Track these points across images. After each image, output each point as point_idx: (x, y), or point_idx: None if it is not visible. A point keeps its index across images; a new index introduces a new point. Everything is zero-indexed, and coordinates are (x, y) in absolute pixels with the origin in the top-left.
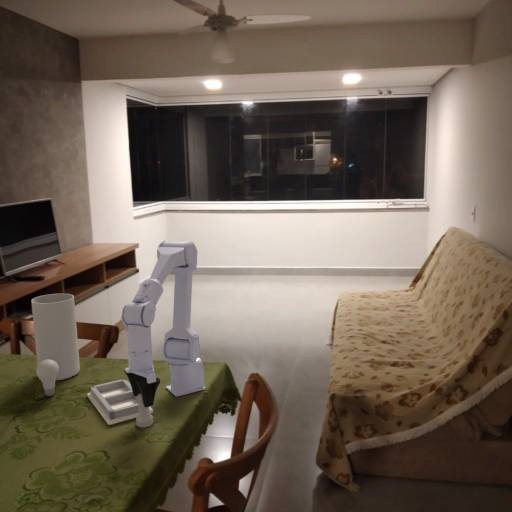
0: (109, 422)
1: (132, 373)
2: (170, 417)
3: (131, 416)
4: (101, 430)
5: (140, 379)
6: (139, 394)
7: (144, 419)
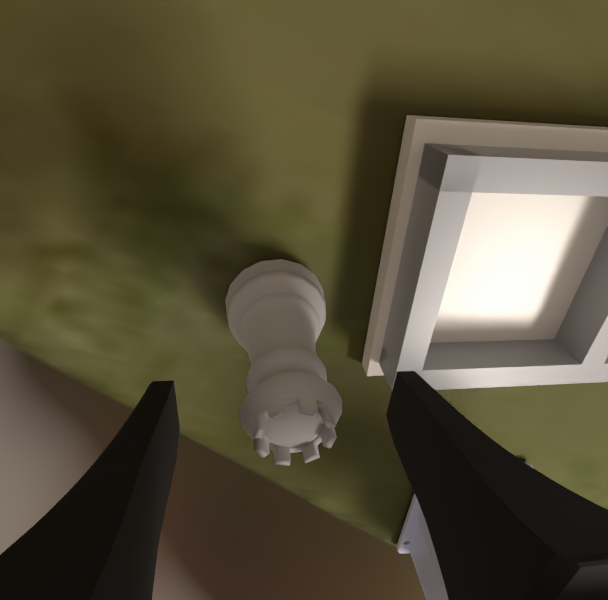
0: (411, 126)
1: (513, 579)
2: None
3: (384, 268)
4: (372, 39)
5: (442, 530)
6: (322, 418)
7: (238, 313)
